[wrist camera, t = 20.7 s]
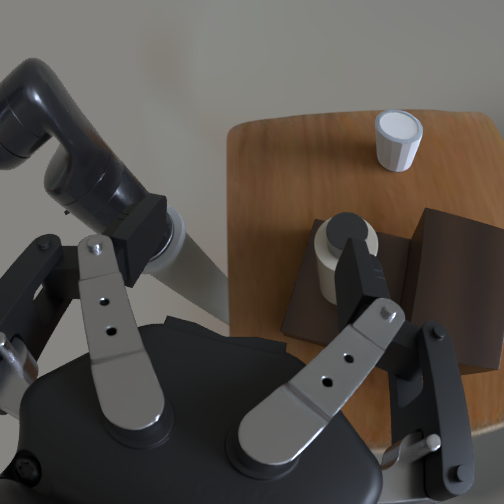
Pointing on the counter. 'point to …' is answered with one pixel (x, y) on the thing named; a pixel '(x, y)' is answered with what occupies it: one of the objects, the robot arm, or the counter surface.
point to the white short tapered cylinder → (397, 139)
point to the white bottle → (339, 246)
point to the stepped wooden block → (424, 287)
